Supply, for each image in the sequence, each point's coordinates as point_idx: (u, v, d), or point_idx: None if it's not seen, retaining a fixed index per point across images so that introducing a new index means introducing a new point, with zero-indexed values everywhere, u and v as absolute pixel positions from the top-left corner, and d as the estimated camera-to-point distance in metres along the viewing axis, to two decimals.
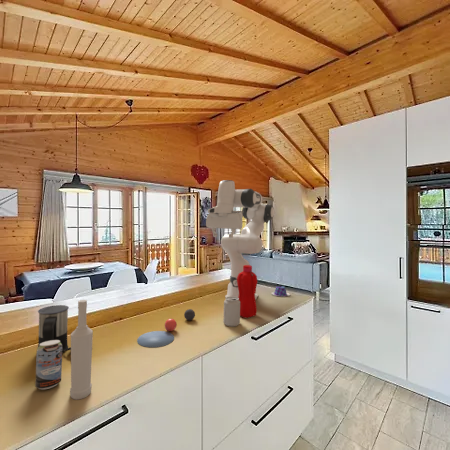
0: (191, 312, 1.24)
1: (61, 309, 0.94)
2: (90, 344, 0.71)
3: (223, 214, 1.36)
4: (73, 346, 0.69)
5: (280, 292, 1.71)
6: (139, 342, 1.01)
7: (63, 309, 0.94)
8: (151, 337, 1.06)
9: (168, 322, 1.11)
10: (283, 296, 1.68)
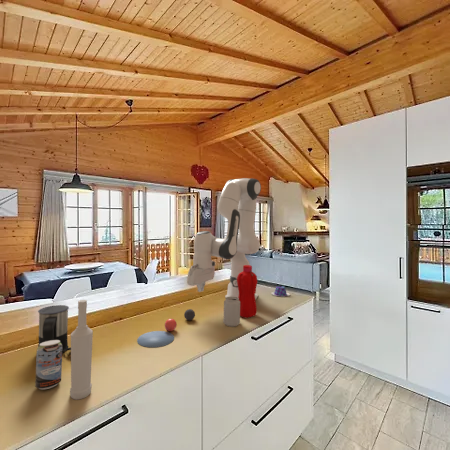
0: (191, 312, 1.24)
1: (62, 309, 0.94)
2: (90, 344, 0.71)
3: None
4: (73, 346, 0.69)
5: (280, 292, 1.71)
6: (139, 342, 1.01)
7: (63, 309, 0.94)
8: (151, 337, 1.06)
9: (168, 322, 1.11)
10: (283, 296, 1.68)
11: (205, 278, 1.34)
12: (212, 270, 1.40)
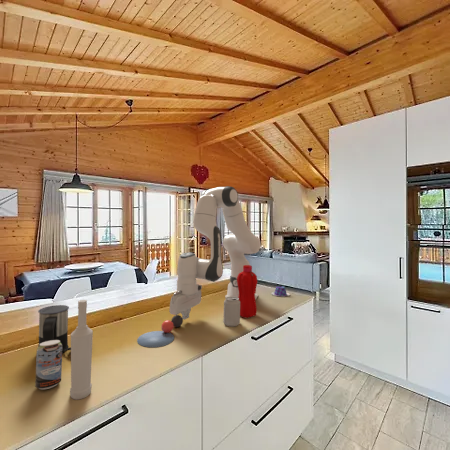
0: None
1: (62, 309, 0.94)
2: (90, 344, 0.71)
3: None
4: (73, 346, 0.69)
5: (280, 292, 1.71)
6: (139, 342, 1.01)
7: (63, 309, 0.94)
8: (151, 337, 1.06)
9: (164, 328, 1.09)
10: (283, 296, 1.68)
11: (190, 304, 1.23)
12: (198, 294, 1.29)
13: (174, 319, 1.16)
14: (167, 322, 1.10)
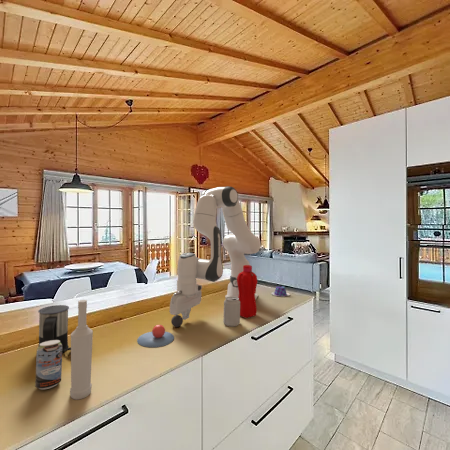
0: None
1: (62, 309, 0.94)
2: (90, 344, 0.71)
3: None
4: (73, 346, 0.69)
5: (280, 292, 1.71)
6: (139, 342, 1.01)
7: (63, 309, 0.94)
8: (151, 337, 1.06)
9: None
10: (283, 296, 1.68)
11: (190, 304, 1.23)
12: (198, 294, 1.29)
13: (174, 319, 1.16)
14: (157, 337, 1.05)
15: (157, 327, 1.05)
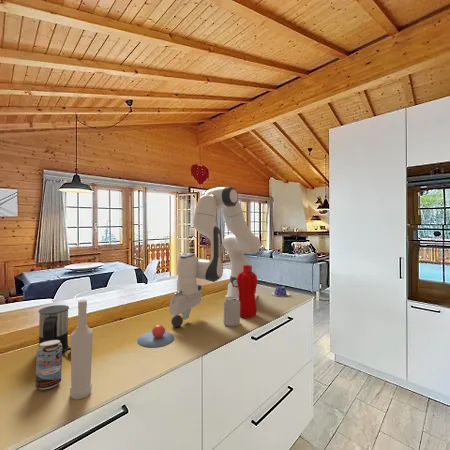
0: None
1: (62, 309, 0.94)
2: (90, 344, 0.71)
3: None
4: (73, 346, 0.69)
5: (280, 292, 1.71)
6: (139, 342, 1.01)
7: (63, 309, 0.94)
8: (151, 337, 1.06)
9: None
10: (283, 296, 1.68)
11: (190, 304, 1.23)
12: (198, 294, 1.29)
13: (174, 319, 1.16)
14: (157, 337, 1.05)
15: (157, 327, 1.05)
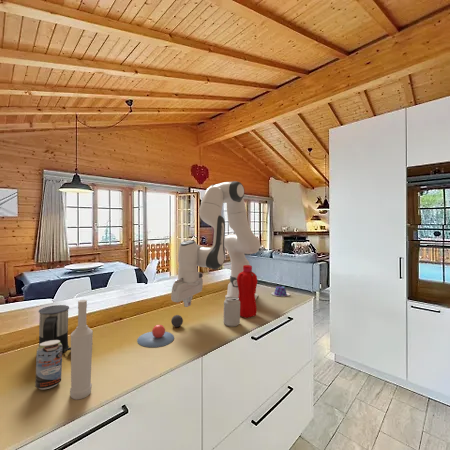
0: None
1: (62, 309, 0.94)
2: (90, 344, 0.71)
3: None
4: (73, 346, 0.69)
5: (280, 292, 1.71)
6: (139, 342, 1.01)
7: (64, 309, 0.94)
8: (151, 337, 1.06)
9: None
10: (283, 296, 1.68)
11: (191, 292, 1.23)
12: (200, 282, 1.29)
13: (174, 319, 1.16)
14: (157, 337, 1.05)
15: (157, 327, 1.05)
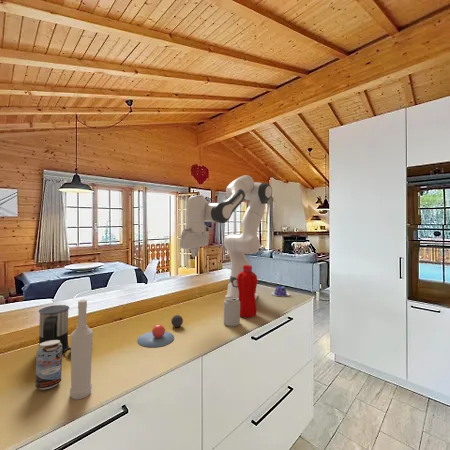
0: None
1: (62, 309, 0.94)
2: (90, 344, 0.71)
3: None
4: (73, 346, 0.69)
5: (280, 292, 1.71)
6: (139, 342, 1.01)
7: (64, 309, 0.94)
8: (151, 337, 1.06)
9: None
10: (283, 296, 1.68)
11: (198, 243, 1.31)
12: (206, 236, 1.37)
13: (174, 319, 1.16)
14: (157, 337, 1.05)
15: (157, 327, 1.05)
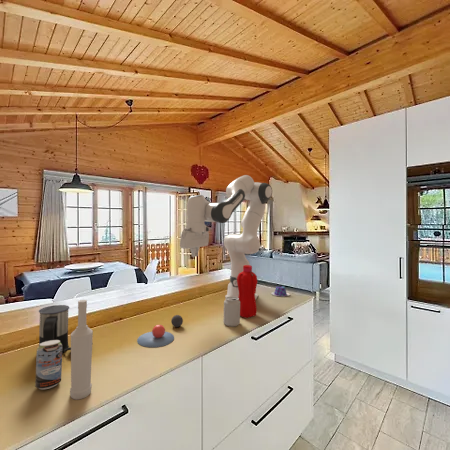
0: None
1: (62, 309, 0.94)
2: (90, 344, 0.71)
3: None
4: (73, 346, 0.69)
5: (280, 292, 1.71)
6: (139, 342, 1.01)
7: (64, 309, 0.94)
8: (151, 337, 1.06)
9: None
10: (283, 296, 1.68)
11: (198, 243, 1.31)
12: (206, 236, 1.37)
13: (174, 319, 1.16)
14: (157, 337, 1.05)
15: (157, 327, 1.05)
